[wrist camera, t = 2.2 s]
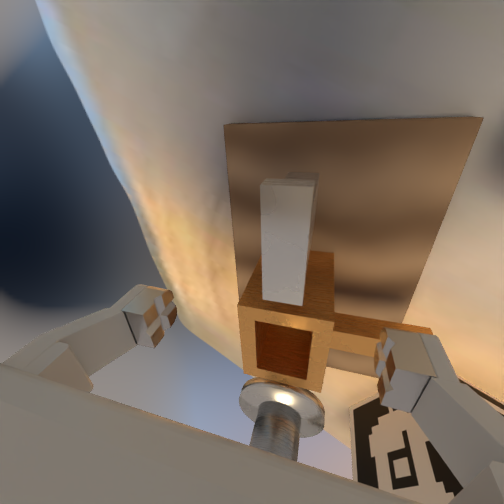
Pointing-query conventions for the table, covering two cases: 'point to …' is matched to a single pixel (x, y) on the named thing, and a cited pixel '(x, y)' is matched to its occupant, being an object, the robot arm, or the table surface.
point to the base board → (355, 202)
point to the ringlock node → (296, 355)
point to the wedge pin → (287, 234)
